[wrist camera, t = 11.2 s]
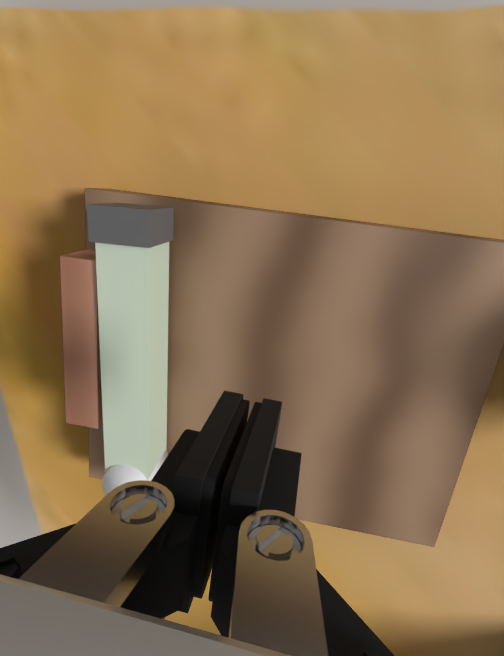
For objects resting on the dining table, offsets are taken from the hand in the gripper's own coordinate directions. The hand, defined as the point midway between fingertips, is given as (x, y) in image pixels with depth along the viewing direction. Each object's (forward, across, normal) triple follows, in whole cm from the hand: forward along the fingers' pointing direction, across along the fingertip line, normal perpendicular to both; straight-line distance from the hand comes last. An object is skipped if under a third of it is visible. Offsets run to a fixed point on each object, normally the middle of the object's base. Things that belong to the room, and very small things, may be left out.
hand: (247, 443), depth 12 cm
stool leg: (+10, +8, +2) cm, 13 cm away
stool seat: (+13, 0, +3) cm, 14 cm away
